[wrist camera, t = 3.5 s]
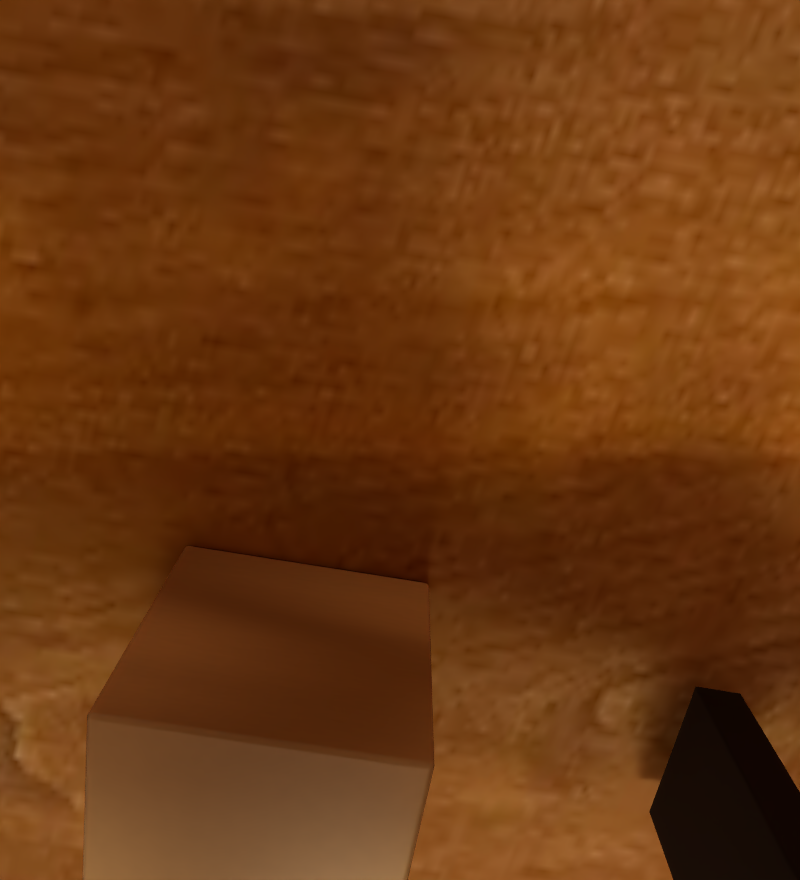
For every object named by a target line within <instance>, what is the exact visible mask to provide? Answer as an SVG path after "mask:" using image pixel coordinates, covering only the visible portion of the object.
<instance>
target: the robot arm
mask: <svg viewBox="0 0 800 880" xmlns="http://www.w3.org/2000/svg"><path fill="white" fill-rule="evenodd" d="M650 815H651V817H652V820H653V823H654V826H655V829H656V832H657V834H658V837H659V840H660V843H661V846H662V849H663V851H664V854H665V857H666V860H667V863H668V865H669V868H670V871H671V874H672V877H673V880H800V792H799V790H798V789H797V787H796V785H795V784H794V782H793V780H792V779H791V777H790V775H789V774H788V772H787V770H786V769H785V767H784V765H783V764H782V762H781V760H780V759H779V757H778V755H777V754H776V752H775V750H774V749H773V747H772V745H771V744H770V742H769V740H768V739H767V737H766V735H765V734H764V732H763V730H762V729H761V727H760V725H759V724H758V722H757V721H756V719H755V717H754V716H753V714H752V712H751V711H750V709H749V707H748V706H747V704H746V702H745V701H744V699H743V697H742V696H741V694H740V693H734V692H727V691H721V690H714V689H708V688H702V687H695V690H694V692H693V695H692V698H691V701H690V703H689V706H688V709H687V711H686V714H685V717H684V720H683V722H682V725H681V728H680V730H679V733H678V736H677V739H676V741H675V744H674V747H673V749H672V752H671V755H670V758H669V760H668V763H667V766H666V768H665V771H664V774H663V776H662V779H661V782H660V785H659V787H658V790H657V793H656V795H655V798H654V801H653V804H652V806H651V809H650Z"/></svg>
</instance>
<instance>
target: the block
mask: <svg viewBox="0 0 800 880" xmlns="http://www.w3.org/2000/svg"><path fill="white" fill-rule="evenodd" d="M433 770H434V741H433V708H432V676H431V643H430V610H429V587H428V584H426V583H422V582H416V581H410V580H403V579H397V578H390V577H384V576H378V575H371V574H365V573H359V572H352V571H346V570H339V569H333V568H327V567H320V566H314V565H308V564H301V563H295V562H289V561H282V560H276V559H269V558H263V557H257V556H250V555H244V554H238V553H231V552H225V551H218V550H212V549H206V548H199V547H193V546H187V547H185V549H184V550H183V552H182V554H181V555H180V557H179V559H178V561H177V562H176V564H175V566H174V567H173V569H172V571H171V573H170V574H169V576H168V578H167V579H166V581H165V583H164V585H163V586H162V588H161V590H160V591H159V593H158V595H157V597H156V598H155V600H154V602H153V603H152V605H151V607H150V609H149V610H148V612H147V614H146V616H145V617H144V619H143V621H142V622H141V624H140V626H139V628H138V629H137V631H136V633H135V634H134V636H133V638H132V640H131V641H130V643H129V645H128V646H127V648H126V650H125V652H124V653H123V655H122V657H121V658H120V660H119V662H118V664H117V665H116V667H115V669H114V670H113V672H112V674H111V676H110V677H109V679H108V681H107V682H106V684H105V686H104V688H103V689H102V691H101V693H100V695H99V696H98V698H97V700H96V701H95V703H94V705H93V707H92V708H91V710H90V712H89V713H88V715H87V748H86V784H85V819H84V855H83V880H408V875H409V871H410V867H411V863H412V858H413V854H414V850H415V846H416V841H417V837H418V833H419V829H420V825H421V820H422V816H423V812H424V808H425V803H426V799H427V795H428V791H429V786H430V782H431V778H432V774H433Z"/></svg>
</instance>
